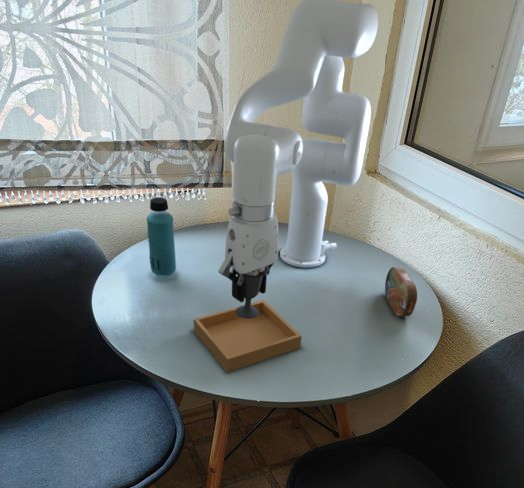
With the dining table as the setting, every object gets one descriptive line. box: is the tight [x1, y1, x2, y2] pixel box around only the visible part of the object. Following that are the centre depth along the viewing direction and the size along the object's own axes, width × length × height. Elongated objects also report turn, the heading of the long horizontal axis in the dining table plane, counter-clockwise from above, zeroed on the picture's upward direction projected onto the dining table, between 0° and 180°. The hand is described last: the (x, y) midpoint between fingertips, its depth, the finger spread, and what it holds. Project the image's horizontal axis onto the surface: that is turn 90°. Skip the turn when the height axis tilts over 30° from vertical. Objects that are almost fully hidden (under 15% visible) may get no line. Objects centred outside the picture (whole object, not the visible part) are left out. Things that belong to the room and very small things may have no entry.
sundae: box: [234, 267, 267, 319], centre depth 103 cm, size 7×7×15 cm
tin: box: [384, 266, 418, 317], centre depth 123 cm, size 15×3×8 cm, turn 5°
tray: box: [193, 299, 303, 373], centre depth 110 cm, size 18×16×3 cm
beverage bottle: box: [146, 196, 177, 277], centre depth 125 cm, size 6×7×20 cm
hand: (248, 294), depth 104 cm, fingers closed on sundae, 4 cm apart
